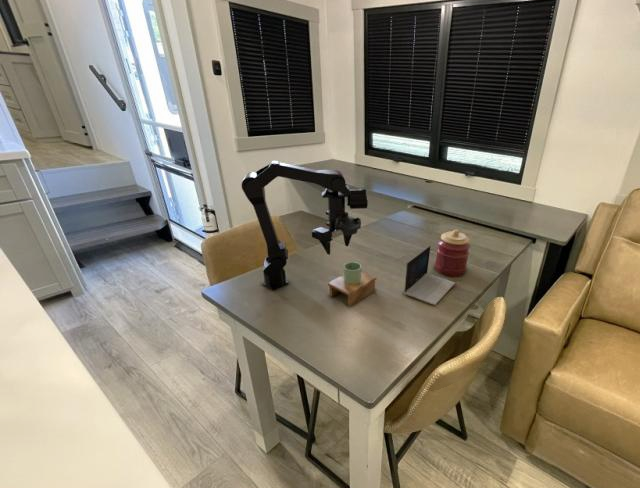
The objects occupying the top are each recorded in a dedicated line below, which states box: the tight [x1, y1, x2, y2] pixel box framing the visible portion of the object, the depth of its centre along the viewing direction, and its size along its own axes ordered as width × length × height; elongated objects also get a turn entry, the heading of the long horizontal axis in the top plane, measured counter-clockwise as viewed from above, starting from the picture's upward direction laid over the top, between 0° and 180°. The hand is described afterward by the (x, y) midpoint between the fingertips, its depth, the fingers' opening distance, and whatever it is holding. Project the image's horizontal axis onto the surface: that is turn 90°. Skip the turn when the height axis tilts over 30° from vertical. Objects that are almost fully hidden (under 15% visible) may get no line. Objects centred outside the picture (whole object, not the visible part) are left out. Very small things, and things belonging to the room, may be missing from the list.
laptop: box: [403, 245, 456, 306], centre depth 120 cm, size 18×12×13 cm
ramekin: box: [342, 261, 363, 285], centre depth 114 cm, size 6×6×6 cm
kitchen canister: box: [434, 229, 471, 277], centre depth 134 cm, size 13×13×18 cm
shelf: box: [327, 270, 377, 307], centre depth 116 cm, size 14×10×6 cm
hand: (337, 250), depth 120 cm, fingers open, 9 cm apart
